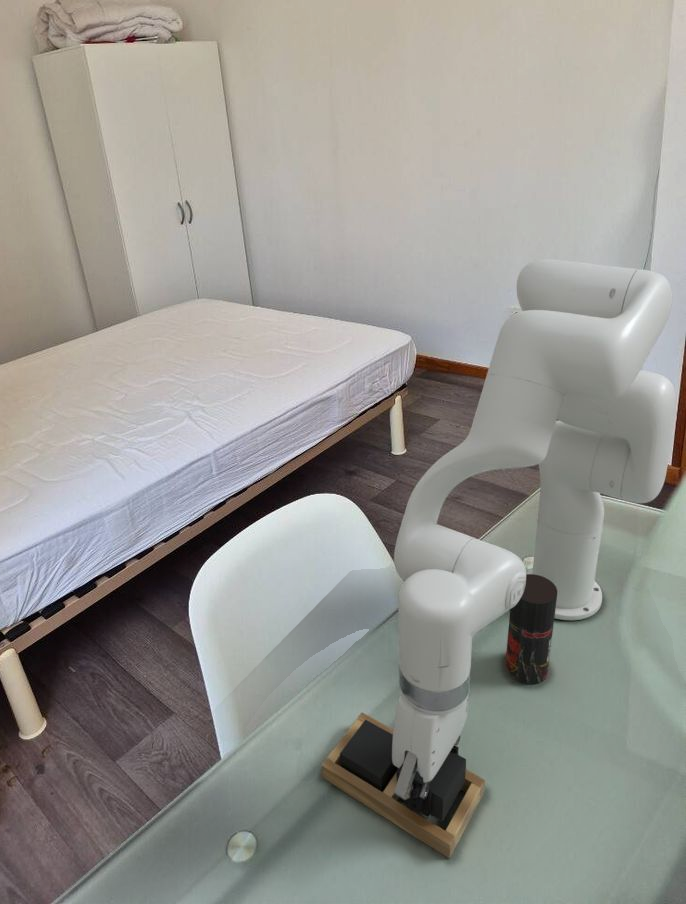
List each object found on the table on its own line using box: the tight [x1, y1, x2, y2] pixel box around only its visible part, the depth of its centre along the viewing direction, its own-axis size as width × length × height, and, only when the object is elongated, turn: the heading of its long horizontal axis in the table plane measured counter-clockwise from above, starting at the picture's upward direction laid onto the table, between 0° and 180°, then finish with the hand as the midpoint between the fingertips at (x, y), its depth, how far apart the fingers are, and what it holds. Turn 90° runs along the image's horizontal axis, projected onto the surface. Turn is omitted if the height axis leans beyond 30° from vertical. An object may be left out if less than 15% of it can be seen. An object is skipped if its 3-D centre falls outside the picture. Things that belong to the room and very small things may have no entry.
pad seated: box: [340, 720, 399, 792], centre depth 87 cm, size 6×6×4 cm
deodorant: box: [504, 574, 557, 686], centre depth 97 cm, size 6×6×15 cm
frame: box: [321, 712, 486, 859], centre depth 85 cm, size 9×18×2 cm, turn 53°
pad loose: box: [396, 751, 467, 822], centre depth 81 cm, size 6×6×4 cm
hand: (431, 785), depth 82 cm, fingers closed on pad loose, 6 cm apart
